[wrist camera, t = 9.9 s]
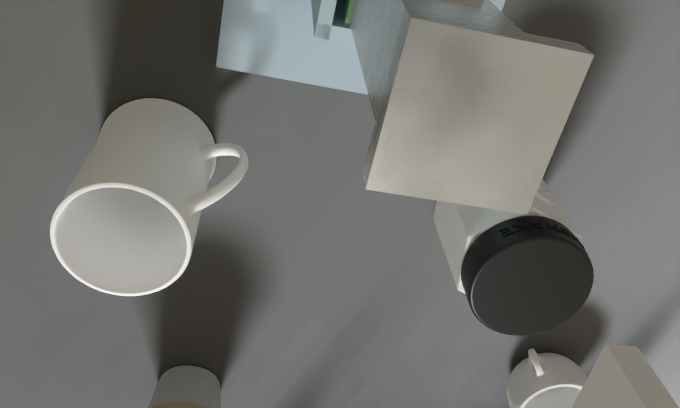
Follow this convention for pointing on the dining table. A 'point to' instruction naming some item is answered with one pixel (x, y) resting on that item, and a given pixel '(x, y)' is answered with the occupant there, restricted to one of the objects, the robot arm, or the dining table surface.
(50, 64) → the dining table surface
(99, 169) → the mug
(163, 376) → the coffee cup
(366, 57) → the column
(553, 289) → the jar
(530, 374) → the teacup
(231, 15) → the stand base
